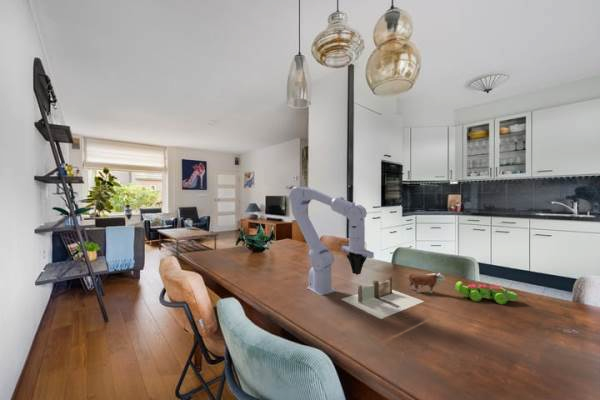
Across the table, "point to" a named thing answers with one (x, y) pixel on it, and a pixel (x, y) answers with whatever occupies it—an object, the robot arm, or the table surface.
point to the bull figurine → (425, 280)
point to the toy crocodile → (486, 292)
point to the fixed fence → (382, 287)
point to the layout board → (384, 303)
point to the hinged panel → (365, 293)
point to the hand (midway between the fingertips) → (356, 273)
